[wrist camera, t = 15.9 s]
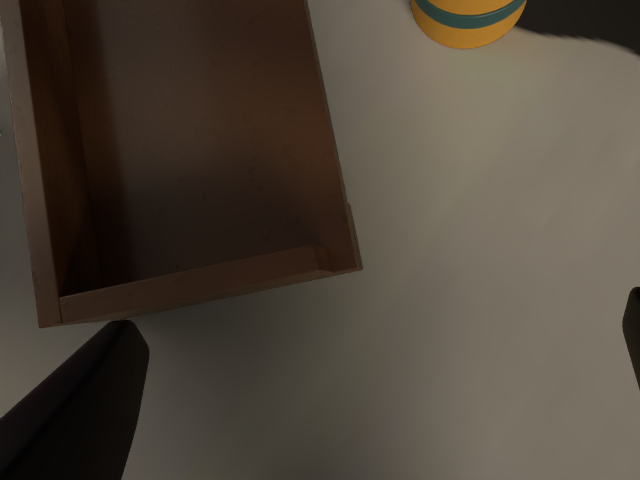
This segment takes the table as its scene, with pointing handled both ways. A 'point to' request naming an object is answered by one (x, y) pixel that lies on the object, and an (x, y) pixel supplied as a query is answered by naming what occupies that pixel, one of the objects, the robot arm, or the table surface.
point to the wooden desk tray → (172, 153)
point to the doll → (466, 20)
